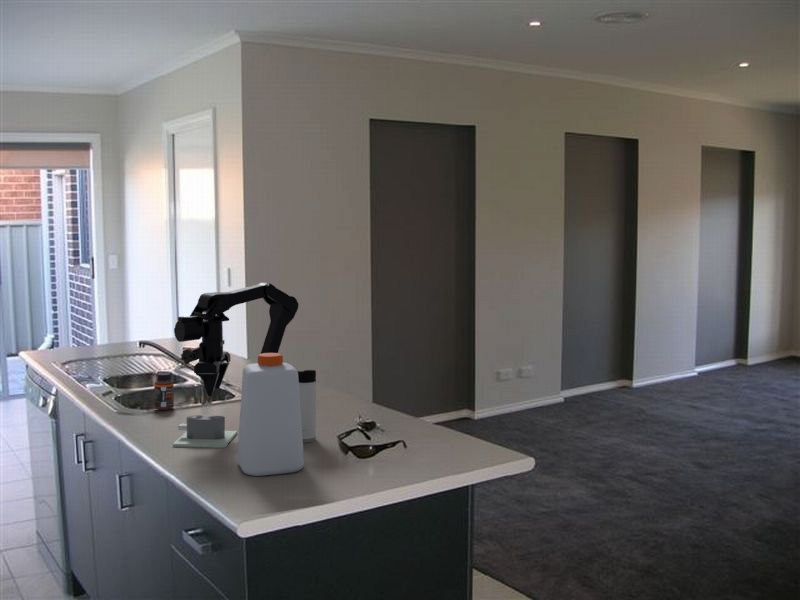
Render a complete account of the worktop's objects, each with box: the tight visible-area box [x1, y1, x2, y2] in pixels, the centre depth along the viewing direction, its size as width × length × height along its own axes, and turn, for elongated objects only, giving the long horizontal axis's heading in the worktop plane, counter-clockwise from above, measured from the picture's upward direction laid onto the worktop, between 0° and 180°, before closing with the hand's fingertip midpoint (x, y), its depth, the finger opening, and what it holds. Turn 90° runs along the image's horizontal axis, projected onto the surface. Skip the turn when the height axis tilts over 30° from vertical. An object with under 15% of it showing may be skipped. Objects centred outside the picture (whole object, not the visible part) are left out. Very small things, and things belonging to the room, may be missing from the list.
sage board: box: [172, 430, 238, 449], centre depth 215 cm, size 14×14×1 cm
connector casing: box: [177, 414, 226, 439], centre depth 215 cm, size 12×4×6 cm, turn 89°
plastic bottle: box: [236, 352, 305, 477], centre depth 191 cm, size 15×15×28 cm
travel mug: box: [297, 369, 317, 444], centre depth 215 cm, size 6×7×20 cm
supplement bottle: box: [153, 372, 175, 411], centre depth 250 cm, size 6×6×11 cm
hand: (213, 392), depth 221 cm, fingers open, 9 cm apart
